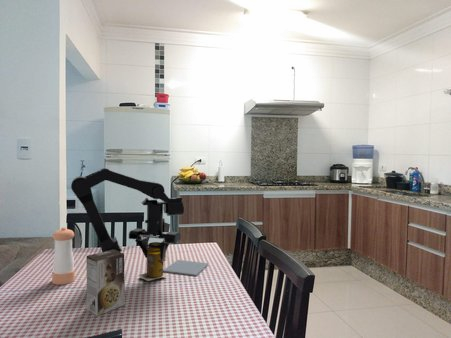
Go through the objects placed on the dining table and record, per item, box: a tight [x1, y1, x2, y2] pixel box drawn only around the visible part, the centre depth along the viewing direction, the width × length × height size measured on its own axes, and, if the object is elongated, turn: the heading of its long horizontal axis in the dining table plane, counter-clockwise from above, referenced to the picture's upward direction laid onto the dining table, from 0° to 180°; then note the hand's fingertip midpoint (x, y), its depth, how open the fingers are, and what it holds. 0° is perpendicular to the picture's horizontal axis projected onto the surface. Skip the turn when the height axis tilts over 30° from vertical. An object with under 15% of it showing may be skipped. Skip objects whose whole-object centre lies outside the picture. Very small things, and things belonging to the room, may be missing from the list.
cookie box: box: [86, 250, 126, 316], centre depth 100 cm, size 9×6×16 cm
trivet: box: [163, 259, 210, 277], centre depth 136 cm, size 14×14×1 cm
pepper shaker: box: [51, 227, 76, 285], centre depth 120 cm, size 7×7×19 cm
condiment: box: [137, 241, 169, 282], centre depth 124 cm, size 7×8×12 cm
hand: (154, 258), depth 124 cm, fingers closed on condiment, 6 cm apart
